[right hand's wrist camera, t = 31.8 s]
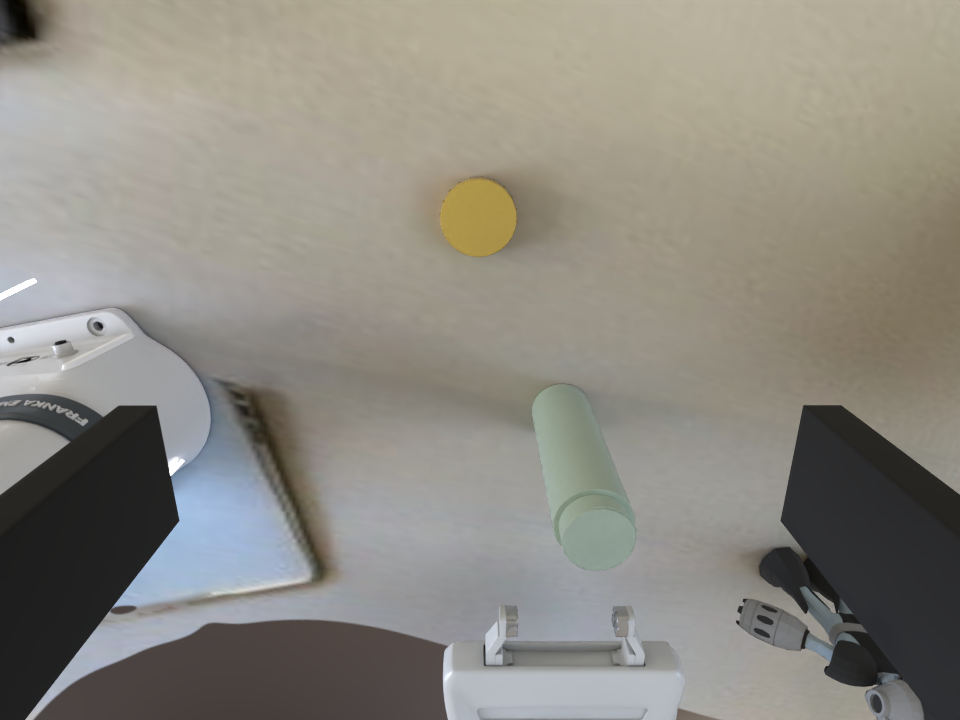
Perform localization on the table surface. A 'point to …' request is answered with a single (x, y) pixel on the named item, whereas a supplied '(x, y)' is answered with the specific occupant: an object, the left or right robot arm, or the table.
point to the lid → (478, 217)
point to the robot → (852, 645)
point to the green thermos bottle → (581, 481)
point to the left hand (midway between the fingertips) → (566, 611)
